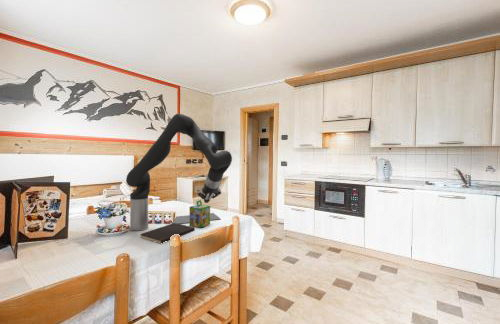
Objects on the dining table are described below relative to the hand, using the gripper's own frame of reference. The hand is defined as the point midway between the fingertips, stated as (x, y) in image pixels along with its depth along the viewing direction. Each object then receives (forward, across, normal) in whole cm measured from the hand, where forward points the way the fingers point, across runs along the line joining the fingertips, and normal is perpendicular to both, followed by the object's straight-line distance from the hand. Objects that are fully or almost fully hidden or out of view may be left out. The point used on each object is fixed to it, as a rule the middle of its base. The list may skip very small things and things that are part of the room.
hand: (206, 201), depth 133 cm
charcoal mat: (+32, 0, -8) cm, 33 cm away
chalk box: (+22, 0, +2) cm, 23 cm away
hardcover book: (+17, +19, +9) cm, 27 cm away
